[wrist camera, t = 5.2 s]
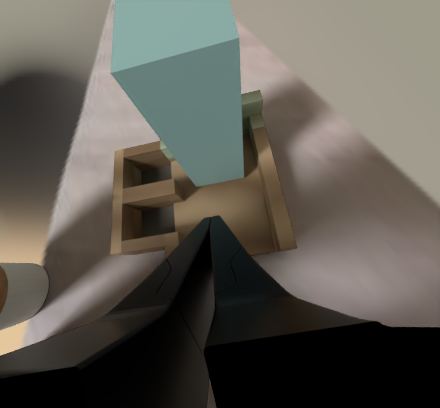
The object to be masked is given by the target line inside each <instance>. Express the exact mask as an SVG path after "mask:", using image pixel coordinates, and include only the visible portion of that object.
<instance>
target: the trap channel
mask: <svg viewBox="0 0 440 408" xmlns="http://www.w3.org/2000/svg"><path fill="white" fill-rule="evenodd" d="M262 103H263V99H262V96H261V92H260V90H257V91H253V92H249V93H245V94H241V104H242V133H243V162H244V178H240V179H235V180H230V181H225V182H220V183H215V184H209V185H204V186H199V187H196V186H195V185H194V183H193V182H192V181H191V179H190V178H189V177H188V175H187V174H186V173H185V171H184V170H183V169H182V167H181V166H180V165H179V163H178V162H177V161H176V159H175V158H174V157H173V155H172V154H171V153H170V151H169V150H168V149H167V147H166V146H165V145H164V143H163V142H162V141H161V139H160V141H157V142H153V143H148V144H144V145H139V146H135V147H131V148H126V149H122V150H117V151H115V157H114V181H113V204H112V228H111V252H110V255H135V254H142V253H148V252H154V251H160V250H165V257H166V258H167V257H168V255H169V254H170V253H171V252H172V251H173V250H174V249H175V248H176V247H177V246H178V245H179V244H180V243H181V242H182V241H183V240H184V238H185V237H186V236H187V235H188V234H189V233H190V232H191V231H192V230H193V229H194V228H195V227H196V226H197V225H198V224H199V223H200V221H201V220H202V219H203V218H205V217H212V216H217V215H220V216H221V218H222V219H223V220H224V222H225V223H226V224H227V226H228V227H229V228H230V229H231V231H232V232H233V233H234V235H235V236H236V237H237V239H238V240H239V241H240V243H241V244H242V245H243V247H244V248H245V249H246V251H247V252H248V253H249V254H250V255H254V254H260V253H267V252H274V251H282V250H289V249H296V248H297V245H296V241H295V237H294V234H293V230H292V226H291V222H290V219H289V215H288V211H287V207H286V204H285V200H284V196H283V192H282V189H281V185H280V181H279V177H278V174H277V170H276V166H275V162H274V159H273V155H272V151H271V147H270V144H269V140H268V136H267V132H266V129H265V125H264V121H263V117H262V114H261V112H262Z"/></svg>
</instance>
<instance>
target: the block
mask: <svg viewBox="0 0 440 408" xmlns="http://www.w3.org/2000/svg"><path fill="white" fill-rule="evenodd" d="M111 74H112V76H113V77H114V78H115V80H116V81H117V82H118V83H119V85H120V86H121V87H122V89H123V90H124V91H125V93H126V94H127V95H128V97H129V98H130V99H131V101H132V102H133V103H134V105H135V106H136V107H137V109H138V110H139V111H140V113H141V114H142V115H143V117H144V118H145V119H146V121H147V122H148V123H149V125H150V126H151V127H152V129H153V130H154V131H155V133H156V134H157V135H158V137H159V138H160V139H161V141H162V142H163V143H164V145H165V146H166V147H167V149H168V150H169V151H170V153H171V154H172V155H173V157H174V158H175V159H176V161H177V162H178V163H179V165H180V166H181V167H182V169H183V170H184V171H185V173H186V174H187V175H188V177H189V178H190V179H191V181H192V182H193V183H194V185H195V186H196V187H199V186H204V185H209V184H215V183H220V182H225V181H230V180H235V179H240V178H244V162H243V133H242V104H241V76H240V47H239V35H238V31H237V27H236V24H235V20H234V16H233V12H232V8H231V5H230V1H229V0H115V8H114V25H113V42H112V59H111Z"/></svg>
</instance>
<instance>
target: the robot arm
mask: <svg viewBox="0 0 440 408" xmlns="http://www.w3.org/2000/svg"><path fill="white" fill-rule="evenodd" d="M214 302H215V310H214ZM209 378H210V382H211V386H212V390H213V394H214V398H215V403H216V407H217V408H440V327H389V326H385V325H382V324H381V323H380V322H377V321H369V320H364V319H359V318H355V317H352V316H348V315H345V314H342V313H340V312H337V311H334V310H331V309H328V308H325V307H322V306H319V305H316V304H313V303H310V302H307V301H304V300H301V299H299V298H297V297H295V296H293V295H291V294H290V293H289V292H287V291H286V290H285V289H284V288H283V287H282V286H281V285H280V284H279V283H277V282H276V281H275V280H274V279H273V278H272V277H271V276H270V275H269V274H268V273H267V272H266V271H265V270H264V269H263V268H262V267H261V266H260V265H259V264H258V263H257V262H256V261H255V260H254V259H253V258H252V257H251V256H250V254H249V253H248V252H247V251H246V249H245V248H244V247H243V245H242V244H241V243H240V241H239V240H238V239H237V237H236V236H235V235H234V233H233V232H232V231H231V229H230V228H229V227H228V226H227V224H226V223H225V222H224V220H223V219H222V218H221V216H220V215H217V216H212V217H205V218H203V219H202V220H201V221H200V223H199V224H198V225H197V226H196V227H195V228H194V229H193V230H192V231H191V232H190V233H189V234H188V235H187V236H186V237H185V238H184V240H183V241H182V242H181V243H180V244H179V245H178V246H177V247H176V248H175V249H174V250H173V251H172V252H171V253H170V254H169V255H168V257H167V258H166V259H165V260H164V261H163V262H162V263H161V264H160V265H159V266H158V267H157V268H156V269H155V270H154V271H153V272H152V273H151V274H150V275H149V276H148V277H147V278H146V279H145V280H144V281H143V282H142V283H141V284H139V285H138V286H137V287H136V288H135V289H134V290H133V291H132V292H131V293H130V294H128V295H127V296H126V297H125V298H124V299H123V300H122V301H121V302H120V303H119V304H117V305H116V306H115V307H114V308H113V309H112V310H111V311H109V312H108V313H107V314H105V315H104V316H102V317H101V318H99V319H98V320H96V321H94V322H92V323H89V324H87V325H84V326H81V327H79V328H76V329H73V330H70V331H68V332H65V333H62V334H59V335H57V336H54V337H51V338H48V339H46V340H43V341H40V342H37V343H35V344H32V345H29V346H26V347H24V348H21V349H18V350H15V351H13V352H10V353H7V354H4V355H1V356H0V408H207V401H208V387H209Z"/></svg>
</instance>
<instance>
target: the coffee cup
mask: <svg viewBox="0 0 440 408" xmlns="http://www.w3.org/2000/svg"><path fill="white" fill-rule="evenodd" d="M48 289H49V279H48V275H47V272H46V271H45V269H44V268H43V267H42V266H40V265H38V264H32V263H0V330H3V329H5V328H8V327H11V326H14V325H16V324H19V323H21V322H24V321H26V320H28V319H30V318H31V317H32V316H34V315H35V314H36V313H37V312H38V311H39V309H40V308H41V307H42V305H43V303H44V301H45V299H46V297H47V294H48Z"/></svg>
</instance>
